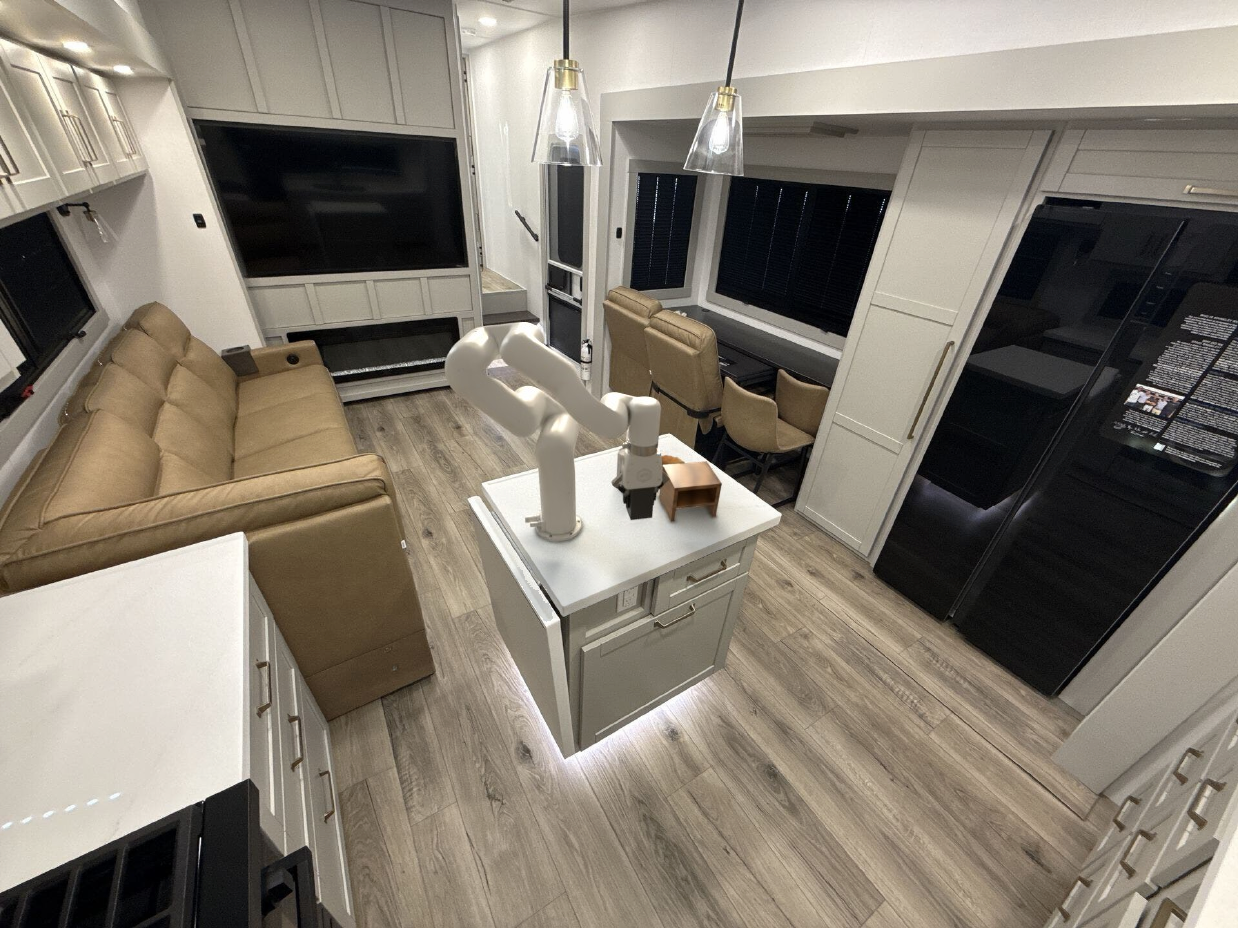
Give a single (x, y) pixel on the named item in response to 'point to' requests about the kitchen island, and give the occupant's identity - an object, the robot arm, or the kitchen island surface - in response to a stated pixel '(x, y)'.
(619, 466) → the energy drink
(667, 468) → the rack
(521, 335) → the robot arm
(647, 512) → the holder
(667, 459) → the pastry
